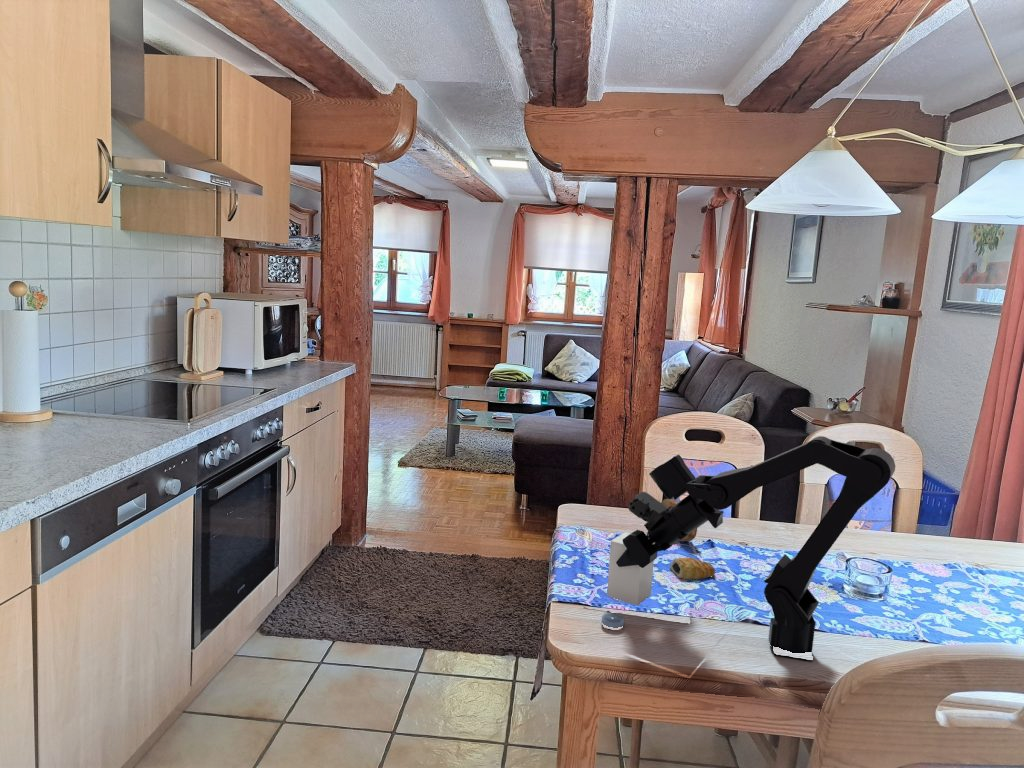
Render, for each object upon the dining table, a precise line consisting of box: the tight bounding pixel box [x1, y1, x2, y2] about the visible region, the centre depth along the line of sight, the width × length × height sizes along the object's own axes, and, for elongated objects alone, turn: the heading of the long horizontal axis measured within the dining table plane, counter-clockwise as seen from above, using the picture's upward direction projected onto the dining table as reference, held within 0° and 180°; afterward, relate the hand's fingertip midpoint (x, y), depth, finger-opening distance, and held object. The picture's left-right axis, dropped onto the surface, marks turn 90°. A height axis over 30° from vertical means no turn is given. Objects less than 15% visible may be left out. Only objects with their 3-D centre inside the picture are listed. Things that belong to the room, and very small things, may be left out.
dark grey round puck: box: [601, 612, 625, 628], centre depth 131 cm, size 4×4×2 cm
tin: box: [660, 498, 698, 542], centre depth 180 cm, size 15×3×8 cm, turn 17°
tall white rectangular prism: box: [607, 531, 655, 606], centre depth 142 cm, size 6×6×12 cm
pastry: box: [669, 556, 716, 581], centre depth 156 cm, size 9×7×4 cm
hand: (625, 559), depth 143 cm, fingers closed on tall white rectangular prism, 6 cm apart
